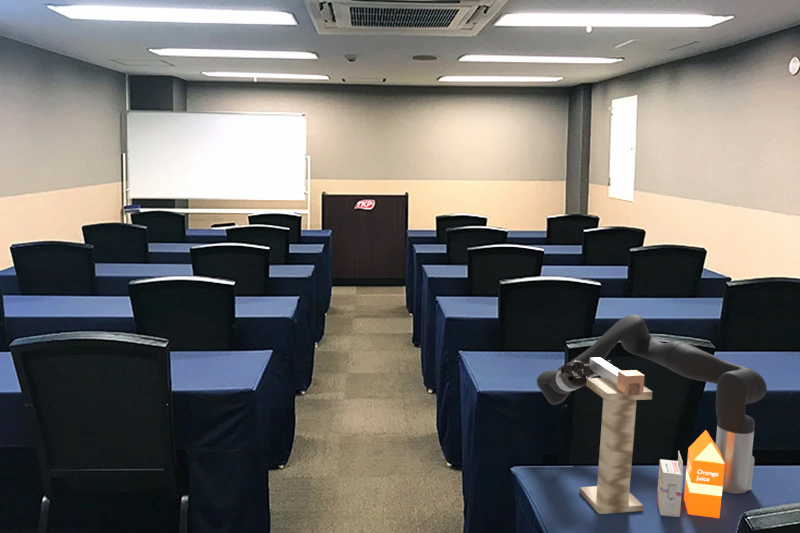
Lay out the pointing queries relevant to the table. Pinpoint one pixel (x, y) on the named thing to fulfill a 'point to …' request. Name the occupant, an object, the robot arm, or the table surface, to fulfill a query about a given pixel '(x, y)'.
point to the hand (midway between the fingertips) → (595, 364)
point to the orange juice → (704, 478)
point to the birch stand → (614, 450)
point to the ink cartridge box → (670, 487)
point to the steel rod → (619, 377)
